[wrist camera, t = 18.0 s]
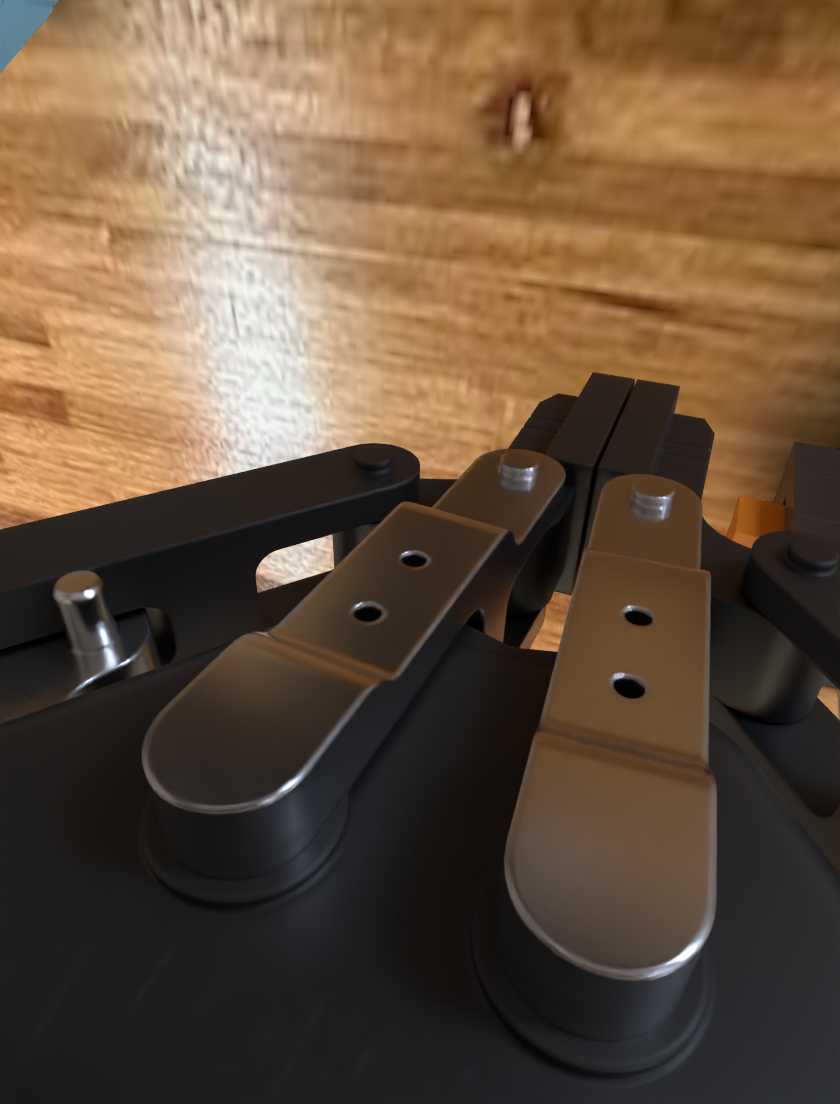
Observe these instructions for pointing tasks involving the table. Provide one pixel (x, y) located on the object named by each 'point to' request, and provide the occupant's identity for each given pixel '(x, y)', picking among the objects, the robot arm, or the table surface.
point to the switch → (755, 520)
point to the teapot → (20, 24)
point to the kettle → (812, 496)
